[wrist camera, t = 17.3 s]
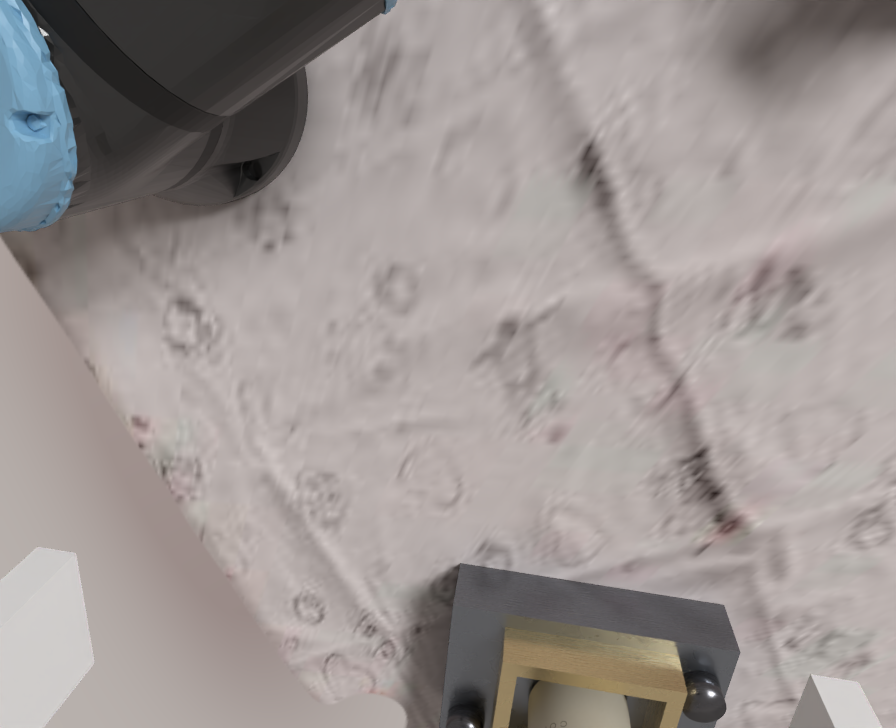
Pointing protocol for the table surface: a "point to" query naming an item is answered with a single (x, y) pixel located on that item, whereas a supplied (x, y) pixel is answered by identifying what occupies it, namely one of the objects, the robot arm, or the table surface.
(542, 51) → the table surface
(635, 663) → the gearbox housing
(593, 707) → the travel mug
